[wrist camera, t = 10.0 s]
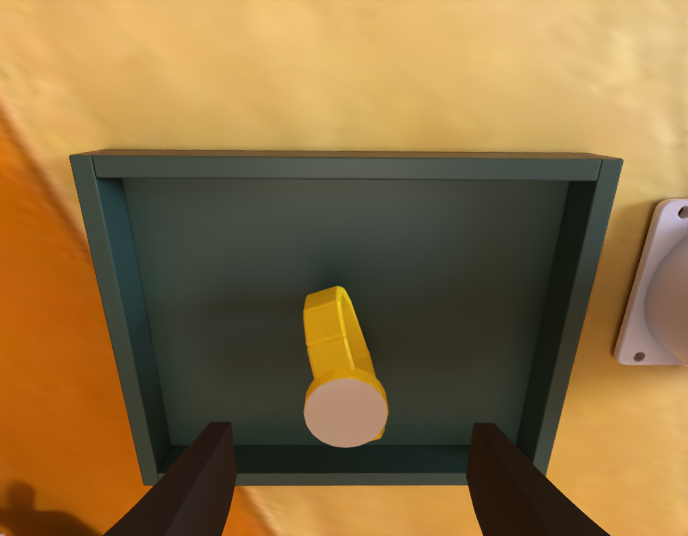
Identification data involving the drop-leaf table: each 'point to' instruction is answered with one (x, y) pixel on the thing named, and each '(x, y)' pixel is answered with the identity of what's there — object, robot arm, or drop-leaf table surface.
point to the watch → (340, 374)
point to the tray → (362, 288)
